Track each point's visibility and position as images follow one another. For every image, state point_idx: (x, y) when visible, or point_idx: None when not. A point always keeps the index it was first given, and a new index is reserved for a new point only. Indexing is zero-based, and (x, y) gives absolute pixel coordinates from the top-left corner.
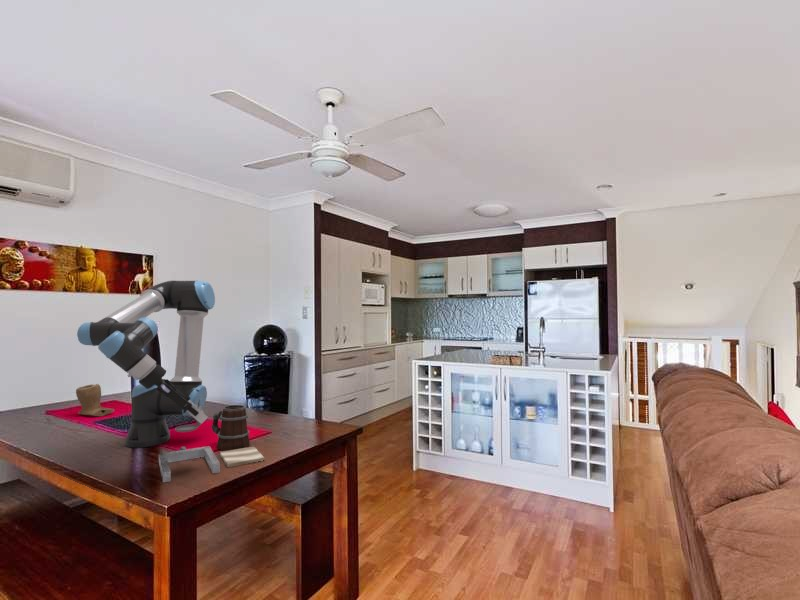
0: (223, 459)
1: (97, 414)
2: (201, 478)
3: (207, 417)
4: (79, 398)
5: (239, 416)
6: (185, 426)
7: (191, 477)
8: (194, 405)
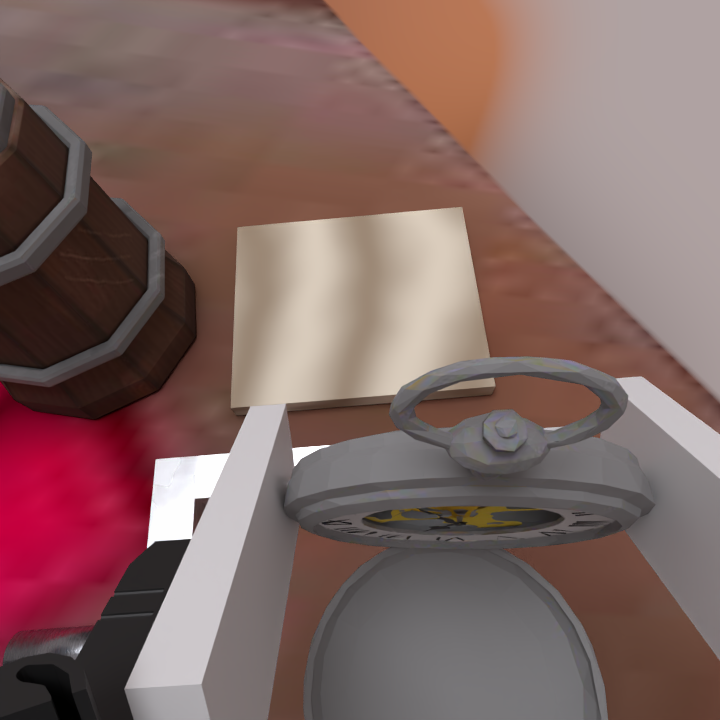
0: (358, 401)
1: None
2: (634, 556)
3: (645, 383)
4: None
5: (60, 153)
6: (318, 698)
7: (595, 618)
8: (249, 548)
